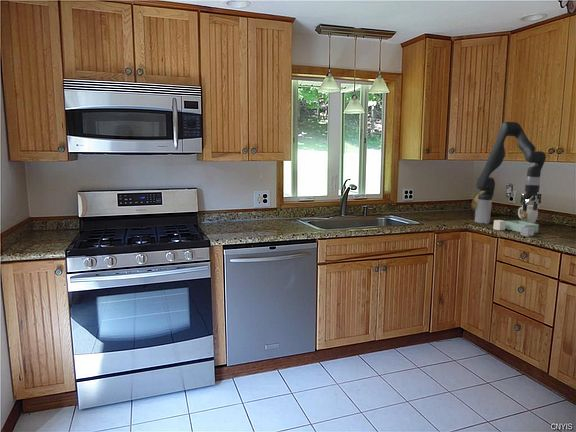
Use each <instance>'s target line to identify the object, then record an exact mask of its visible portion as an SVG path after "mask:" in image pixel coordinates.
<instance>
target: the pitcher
mask: <svg viewBox="0 0 576 432" xmlns="http://www.w3.org/2000/svg"><path fill="white" fill-rule="evenodd" d="M540 207H541V206H540V205H538V207H537V210H533V204H532V205H531V204H527V211H523V204H521V207H519V208H518V211H517V215H518V217H519V219H520V221H523V222H528V223H533V224H536V221H537V220H538V217H539V213H538V208H540Z"/></svg>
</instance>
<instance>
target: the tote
mask: <svg viewBox="0 0 576 432" xmlns="http://www.w3.org/2000/svg"><path fill="white" fill-rule="evenodd" d="M505 221H506V226H505V229H507V230H506V231H510V230H512V231H511V232H514V231H516V232H515V233H519V232H520V233H521V227H530V228H534V234H538V233H539V226H540V224H539V223H534V224H533V223H528V222H523V221H521V220H505Z"/></svg>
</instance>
